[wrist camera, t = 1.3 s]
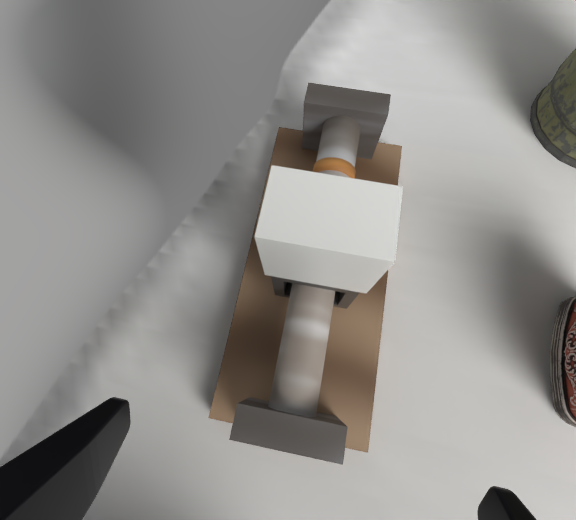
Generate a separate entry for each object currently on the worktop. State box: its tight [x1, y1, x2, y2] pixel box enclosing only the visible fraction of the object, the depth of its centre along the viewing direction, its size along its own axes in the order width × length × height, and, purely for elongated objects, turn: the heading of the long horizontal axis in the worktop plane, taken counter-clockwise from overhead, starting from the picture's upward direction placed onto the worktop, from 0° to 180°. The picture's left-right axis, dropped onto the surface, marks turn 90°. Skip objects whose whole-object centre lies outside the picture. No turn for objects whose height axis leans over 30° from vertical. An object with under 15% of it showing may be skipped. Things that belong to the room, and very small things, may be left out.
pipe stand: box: [209, 83, 402, 465], centre depth 21 cm, size 20×9×6 cm, turn 169°
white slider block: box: [255, 165, 403, 309], centre depth 17 cm, size 3×5×9 cm, turn 79°
